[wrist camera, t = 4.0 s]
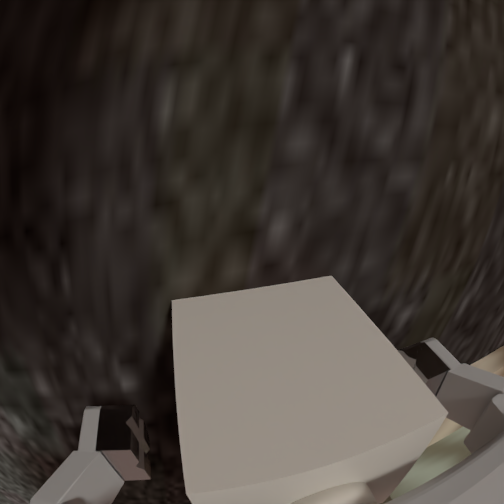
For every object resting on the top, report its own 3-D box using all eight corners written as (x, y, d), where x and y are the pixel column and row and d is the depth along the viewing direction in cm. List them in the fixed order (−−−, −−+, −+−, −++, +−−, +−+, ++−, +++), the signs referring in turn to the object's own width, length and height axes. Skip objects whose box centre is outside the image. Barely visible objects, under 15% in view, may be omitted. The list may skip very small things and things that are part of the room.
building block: (330, 275, 10) (469, 439, 4) (319, 381, 12) (393, 520, 6) (171, 299, 9) (193, 535, 3) (196, 405, 11) (228, 569, 5)
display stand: (520, 335, 17) (574, 385, 11) (443, 459, 24) (471, 500, 18) (220, 448, 13) (252, 575, 7) (244, 532, 20) (261, 590, 14)
